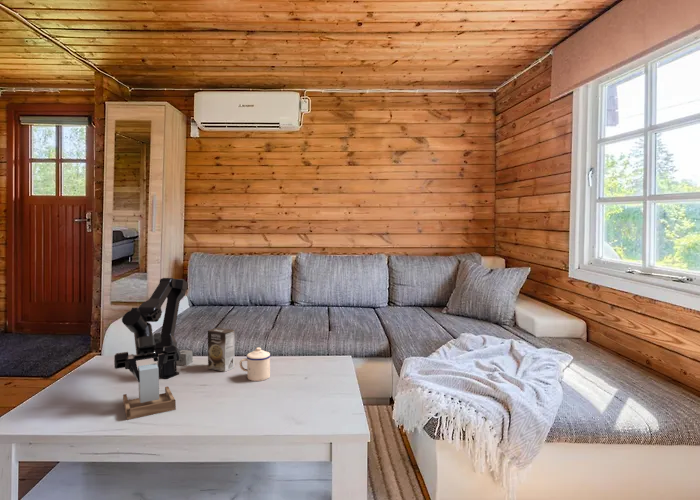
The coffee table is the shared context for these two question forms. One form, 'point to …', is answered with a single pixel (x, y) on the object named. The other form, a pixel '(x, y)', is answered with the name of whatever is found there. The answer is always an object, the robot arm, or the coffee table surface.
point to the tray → (149, 405)
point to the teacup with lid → (257, 365)
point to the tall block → (148, 382)
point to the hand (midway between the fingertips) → (149, 379)
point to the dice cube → (185, 358)
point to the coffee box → (220, 349)
